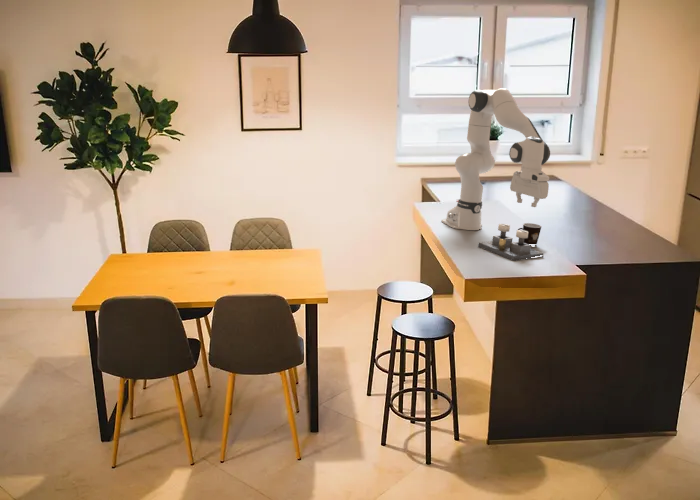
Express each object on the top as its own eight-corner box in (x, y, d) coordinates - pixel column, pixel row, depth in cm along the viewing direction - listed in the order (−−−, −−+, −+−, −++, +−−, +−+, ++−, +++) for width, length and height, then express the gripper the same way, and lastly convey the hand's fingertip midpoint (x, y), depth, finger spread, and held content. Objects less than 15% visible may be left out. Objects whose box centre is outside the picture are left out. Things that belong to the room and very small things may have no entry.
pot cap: (497, 248, 332) (498, 237, 330) (501, 247, 333) (503, 237, 332) (501, 249, 330) (502, 239, 328) (506, 249, 331) (507, 239, 330)
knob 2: (512, 243, 329) (514, 229, 327) (520, 242, 332) (522, 229, 330) (520, 246, 325) (522, 232, 323) (528, 245, 328) (530, 232, 326)
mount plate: (478, 246, 340) (479, 235, 338) (506, 243, 349) (508, 232, 348) (513, 260, 320) (515, 248, 319) (542, 257, 329) (544, 245, 328)
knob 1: (494, 236, 339) (496, 223, 337) (503, 235, 342) (504, 222, 340) (502, 239, 335) (504, 226, 333) (510, 238, 337) (512, 225, 336)
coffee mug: (537, 244, 353) (540, 224, 350) (539, 248, 344) (542, 228, 342) (513, 241, 354) (515, 221, 351) (515, 246, 345) (517, 226, 343)
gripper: (509, 170, 327) (505, 200, 330) (541, 178, 310) (537, 209, 314) (519, 170, 330) (515, 199, 334) (552, 178, 313) (548, 209, 317)
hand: (526, 204), depth 323 cm, fingers open, 8 cm apart
